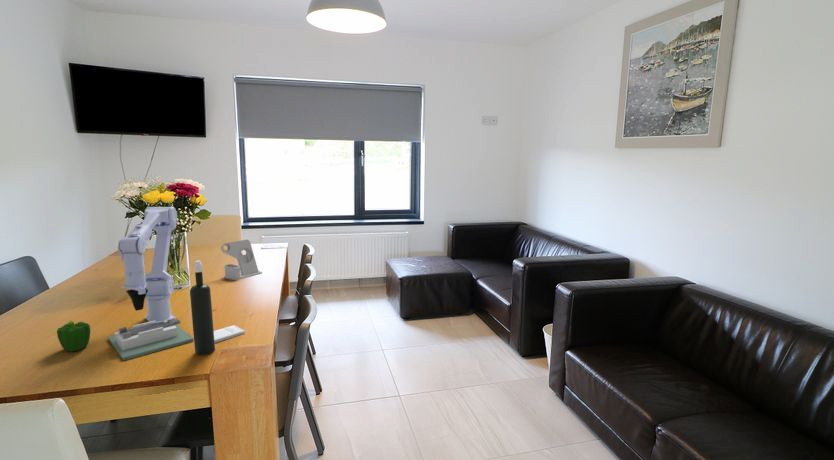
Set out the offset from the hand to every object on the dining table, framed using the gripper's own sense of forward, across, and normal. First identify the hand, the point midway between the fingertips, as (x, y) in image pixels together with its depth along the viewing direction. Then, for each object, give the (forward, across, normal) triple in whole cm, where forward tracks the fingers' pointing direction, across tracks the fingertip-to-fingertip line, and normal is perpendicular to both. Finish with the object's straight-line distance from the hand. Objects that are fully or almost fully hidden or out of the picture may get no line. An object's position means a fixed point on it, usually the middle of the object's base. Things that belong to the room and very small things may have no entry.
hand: (139, 309), depth 147 cm
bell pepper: (+10, -3, -18) cm, 21 cm away
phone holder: (+10, -51, +58) cm, 78 cm away
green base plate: (+9, +7, +1) cm, 12 cm away
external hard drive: (+10, +20, +20) cm, 30 cm away
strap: (+5, +7, +2) cm, 9 cm away
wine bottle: (+10, +29, +11) cm, 32 cm away
